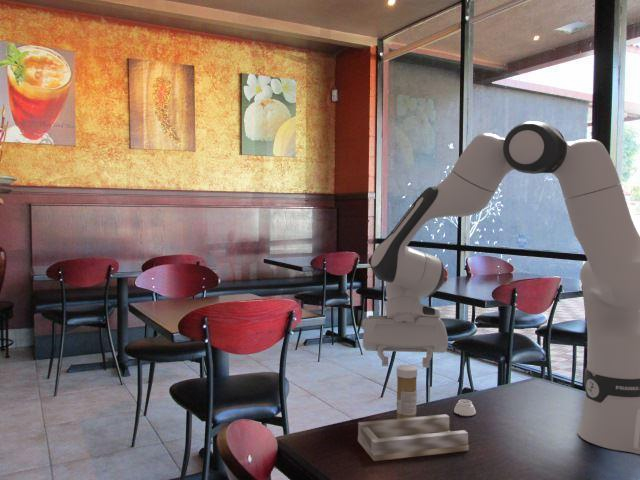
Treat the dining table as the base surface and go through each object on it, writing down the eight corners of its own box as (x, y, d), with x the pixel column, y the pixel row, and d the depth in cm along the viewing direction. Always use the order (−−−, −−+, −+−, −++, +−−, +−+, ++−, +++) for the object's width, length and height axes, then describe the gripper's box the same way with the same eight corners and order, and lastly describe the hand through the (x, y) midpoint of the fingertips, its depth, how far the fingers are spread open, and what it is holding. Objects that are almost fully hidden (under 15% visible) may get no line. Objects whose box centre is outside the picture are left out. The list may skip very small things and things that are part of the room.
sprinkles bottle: (396, 422, 128) (397, 363, 127) (417, 423, 127) (417, 364, 126) (395, 429, 123) (395, 369, 123) (416, 431, 122) (417, 370, 122)
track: (445, 431, 122) (445, 413, 122) (468, 450, 112) (468, 430, 112) (357, 440, 117) (357, 422, 117) (374, 461, 107) (374, 440, 107)
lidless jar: (471, 418, 130) (478, 412, 134) (471, 406, 130) (478, 400, 134) (450, 414, 133) (458, 408, 137) (451, 402, 133) (459, 396, 137)
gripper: (362, 308, 138) (360, 357, 129) (446, 309, 136) (450, 359, 127) (362, 322, 143) (361, 371, 134) (443, 324, 141) (448, 373, 132)
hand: (405, 365), depth 130 cm, fingers open, 8 cm apart
